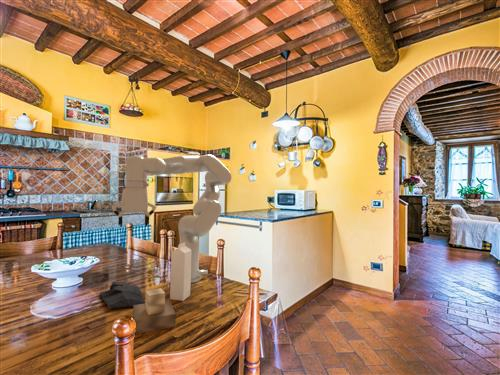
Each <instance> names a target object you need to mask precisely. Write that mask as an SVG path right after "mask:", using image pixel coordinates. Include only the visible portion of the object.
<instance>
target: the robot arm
mask: <svg viewBox="0 0 500 375" xmlns="http://www.w3.org/2000/svg"><path fill="white" fill-rule="evenodd" d="M125 165H126V168H125V188H122V194H121V201H119V202H118V203H116V204H113V205H112V206H111V210H112V212H113V213H114V214H115V215H116V216H117V217H118V226H119V227H120V228H122V227H123V215H125V214H126V213H133V214H134V213H144V214H145V216H144V220H145V221H144V226H146V227H148V225H149V224H150V217H151V216H152V215H153V214H154V212H155V211H156V209H157V206H156V205H154V204H152V203H150V202H149V201H148V200H149V199H148V190H147V189H146V187H147V188H148V187H149V186H150V185H149V183H147V182H146V176H158V175H159V176H160V175H182V174H191V173H195V174H196V173H205V172H206V173H205V175H204V181H205V189H204V192H203V193H202V195H201V196H200V197H199V199H198V200H197V201H196V203H194V205H193V208H192V213H193V215H191V214H189V215H184V216H182V217H181V218H180V220H179V221H178V225H177V227H178V233H179V244H182V243H184V242H185V243H186V246H187V247H188V248H189V249H191V250H192V253H191V284H192V283H197V282H200V281H201V279H202V275H208V273H209V271H208V269H200V267H199V265H200V264H199V263H200V237H205V236H206V235H207V234H208V233H209V232H210V231H211V230H212V228H213V226H214V225H215V224H216V222H217V221H218V220H219V218H220V216H221V212H222V206H221V204H220V202H219V199H220V197H221V192H220V191H221V190H220V187H219V186H225V185H228V184H229V183H230V182H231V181H232V174H231V171H230V170H229V168H227V166H225V165H224V164H223V163H222V162H221V161H220V159H219V158H217V157H216V156H215V155H213V154H204V155H180V156H179V155H178V156H172V157H167V158H159V157H143V156H139V155H138V156H137V155H130V156H129V155H128V157H126V164H125ZM118 207H120V208H121V211H120V212H119V211H118V210H117V208H118ZM148 207H150V208H151V210H150V211H149V212H148Z"/></svg>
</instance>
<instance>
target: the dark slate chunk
mask: <svg viewBox="0 0 500 375" xmlns="http://www.w3.org/2000/svg"><path fill="white" fill-rule="evenodd" d="M141 291H142V290H141V288H140V287H139V286H137V285H133V284H130V283H128V282H122V281H112V282H111V285H110V286H109V290H108V289H107V290H105V291H100V293H99V294H100V297H101V298H102V301H103V302H104V303H105V304H106V305H107V307H108V308H109V309H111V310H115V309H123V308H131V307H133V305H138V304H145V298H144V295H143V293H142V292H141Z"/></svg>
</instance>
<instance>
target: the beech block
mask: <svg viewBox="0 0 500 375" xmlns="http://www.w3.org/2000/svg"><path fill="white" fill-rule="evenodd" d="M165 300H166V292H165V291H164V290H163V289H162V288H161V287H160V288H153V289H148V290H145V298H144V301H145V310H146V312H147V314H148V315H151V314H155V313H160V312H164V310H165Z"/></svg>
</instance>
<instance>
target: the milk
mask: <svg viewBox="0 0 500 375" xmlns="http://www.w3.org/2000/svg"><path fill="white" fill-rule="evenodd" d="M191 253H192V250H191V249H189V248H188V247H187V246H186V243H185V242H184V243H182V244H180V243H179V244H178V245H177V249H175V250H173V251H171V258H170V259H171V262H170V285H169V286H170V287H169V288H170V292H169V295H170V296H169V300H174V301H182V302H184V301H185V300H186V299H187V298H189V297H190V296H191V284H192V283H191Z"/></svg>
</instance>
